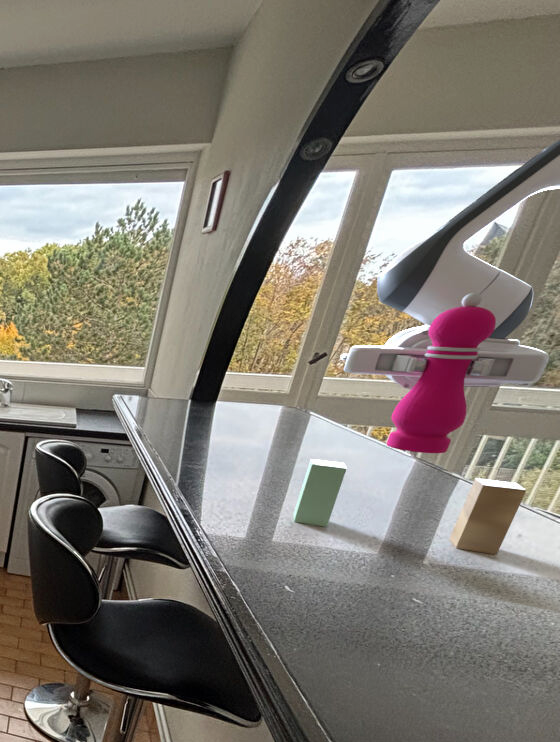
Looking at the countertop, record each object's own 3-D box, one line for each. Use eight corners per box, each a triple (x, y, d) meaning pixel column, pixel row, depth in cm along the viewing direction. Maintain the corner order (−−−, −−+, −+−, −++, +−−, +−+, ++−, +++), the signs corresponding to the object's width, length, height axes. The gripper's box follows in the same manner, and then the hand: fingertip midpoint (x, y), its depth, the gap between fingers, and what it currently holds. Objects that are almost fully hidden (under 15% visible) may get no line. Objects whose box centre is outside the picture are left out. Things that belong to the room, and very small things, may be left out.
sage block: (324, 519, 91) (344, 462, 87) (326, 527, 88) (346, 468, 84) (293, 514, 93) (310, 458, 89) (293, 521, 90) (312, 464, 86)
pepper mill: (426, 456, 78) (490, 292, 70) (368, 444, 84) (421, 293, 77) (465, 452, 80) (531, 292, 72) (405, 441, 86) (460, 293, 78)
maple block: (488, 545, 81) (516, 482, 78) (496, 554, 78) (526, 490, 75) (448, 539, 83) (474, 478, 80) (455, 548, 80) (483, 484, 77)
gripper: (345, 335, 92) (355, 339, 81) (534, 340, 81) (573, 345, 71) (332, 376, 94) (340, 385, 84) (514, 386, 84) (549, 398, 73)
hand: (448, 367), depth 77 cm, fingers closed on pepper mill, 4 cm apart
